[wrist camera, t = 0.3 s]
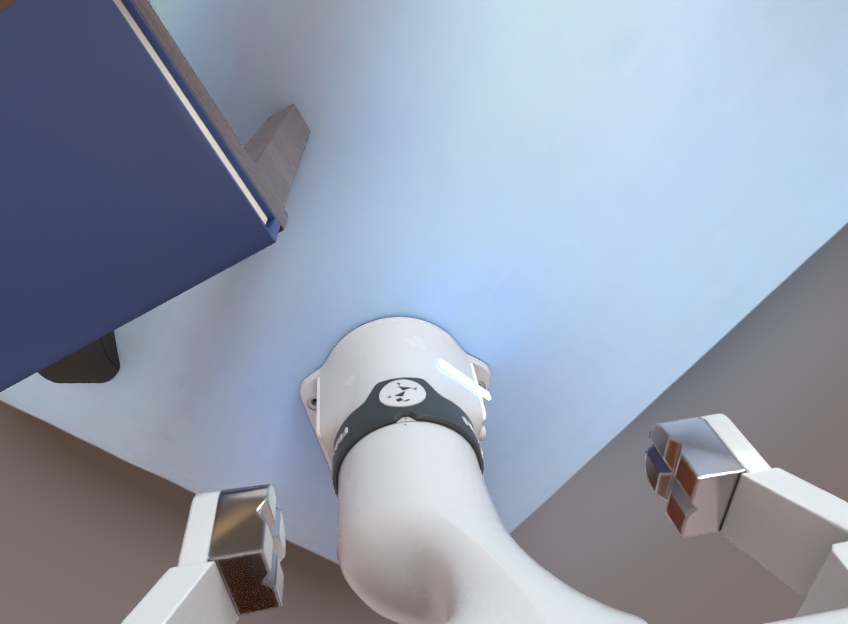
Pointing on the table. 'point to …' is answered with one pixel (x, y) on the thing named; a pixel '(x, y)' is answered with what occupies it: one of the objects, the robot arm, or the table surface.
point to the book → (105, 181)
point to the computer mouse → (86, 363)
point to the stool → (264, 154)
